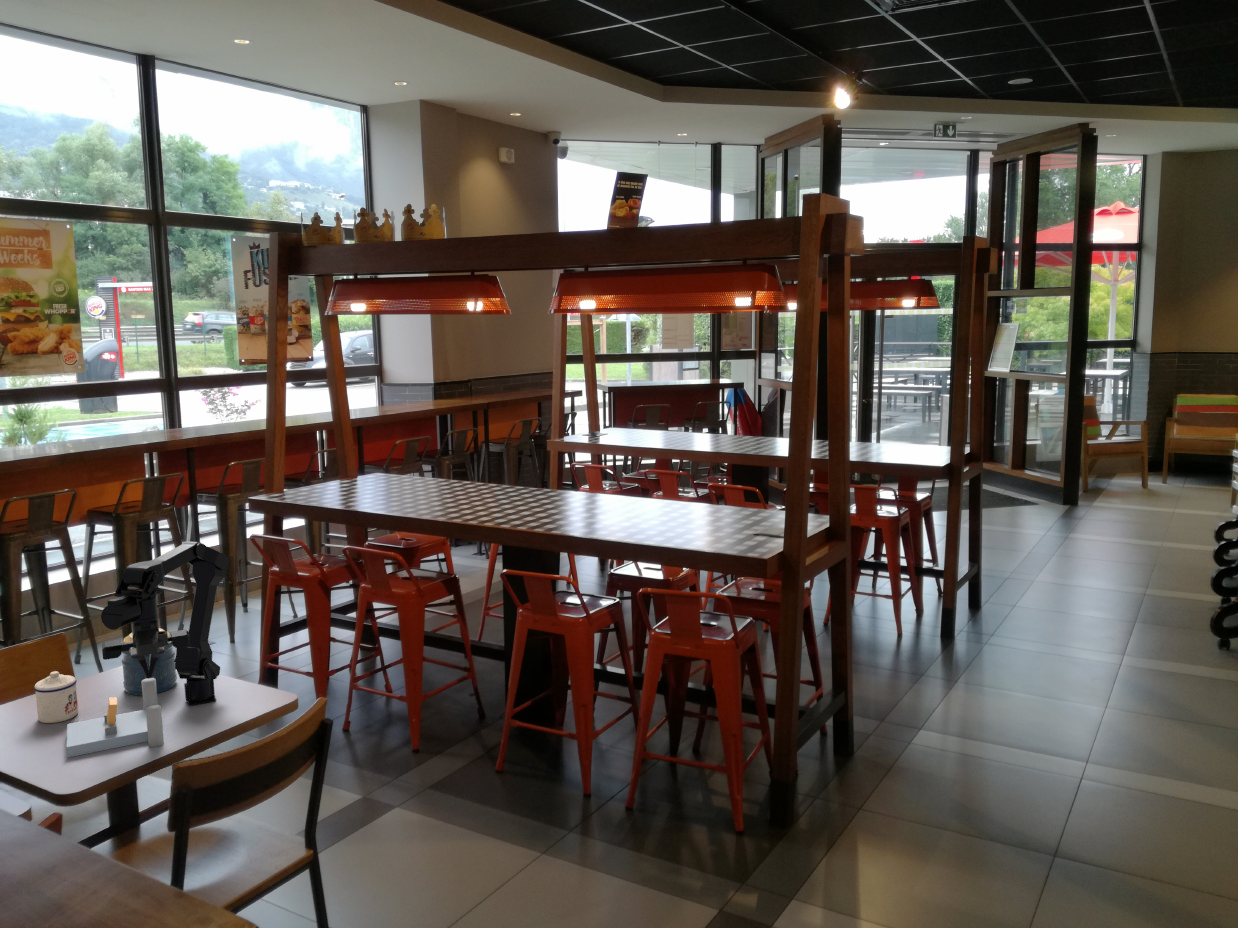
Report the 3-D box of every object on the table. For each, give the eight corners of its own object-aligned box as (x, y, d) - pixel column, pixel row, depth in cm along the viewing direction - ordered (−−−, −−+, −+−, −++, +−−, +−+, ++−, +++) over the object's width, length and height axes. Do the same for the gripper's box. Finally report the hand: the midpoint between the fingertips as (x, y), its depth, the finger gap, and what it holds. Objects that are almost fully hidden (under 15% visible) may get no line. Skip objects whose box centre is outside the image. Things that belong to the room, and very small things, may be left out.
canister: (188, 681, 252) (183, 620, 249) (148, 699, 240) (143, 635, 237) (153, 674, 256) (148, 614, 253) (112, 692, 244) (107, 629, 241)
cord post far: (157, 710, 233) (155, 676, 231) (158, 714, 230) (156, 681, 229) (143, 712, 231) (141, 679, 230) (144, 717, 229) (141, 683, 227)
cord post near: (163, 739, 217) (160, 703, 215) (164, 744, 214) (161, 708, 212) (148, 742, 215) (145, 706, 214) (149, 748, 212) (146, 711, 211)
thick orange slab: (114, 716, 220) (116, 697, 220) (114, 723, 216) (117, 704, 216) (106, 716, 219) (109, 697, 219) (107, 724, 215) (109, 704, 215)
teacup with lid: (74, 721, 226) (69, 676, 224) (32, 726, 224) (27, 681, 222) (86, 702, 238) (82, 659, 236) (46, 706, 235) (42, 663, 233)
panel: (151, 717, 229) (150, 701, 228) (155, 739, 217) (154, 722, 216) (68, 733, 220) (66, 716, 219) (67, 757, 208) (65, 739, 207)
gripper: (100, 632, 207) (106, 697, 209) (190, 619, 216) (195, 681, 218) (99, 618, 216) (105, 680, 219) (186, 606, 225) (190, 666, 228)
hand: (149, 677), depth 221 cm, fingers closed
